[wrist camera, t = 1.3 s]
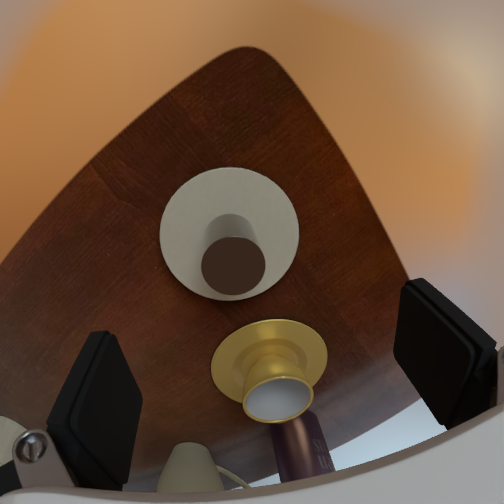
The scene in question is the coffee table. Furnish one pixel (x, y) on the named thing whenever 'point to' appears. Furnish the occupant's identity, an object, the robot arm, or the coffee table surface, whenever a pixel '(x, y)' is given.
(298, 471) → the beverage can
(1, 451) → the pot
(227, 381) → the cup
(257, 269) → the lid
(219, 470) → the mug
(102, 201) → the coffee table surface
